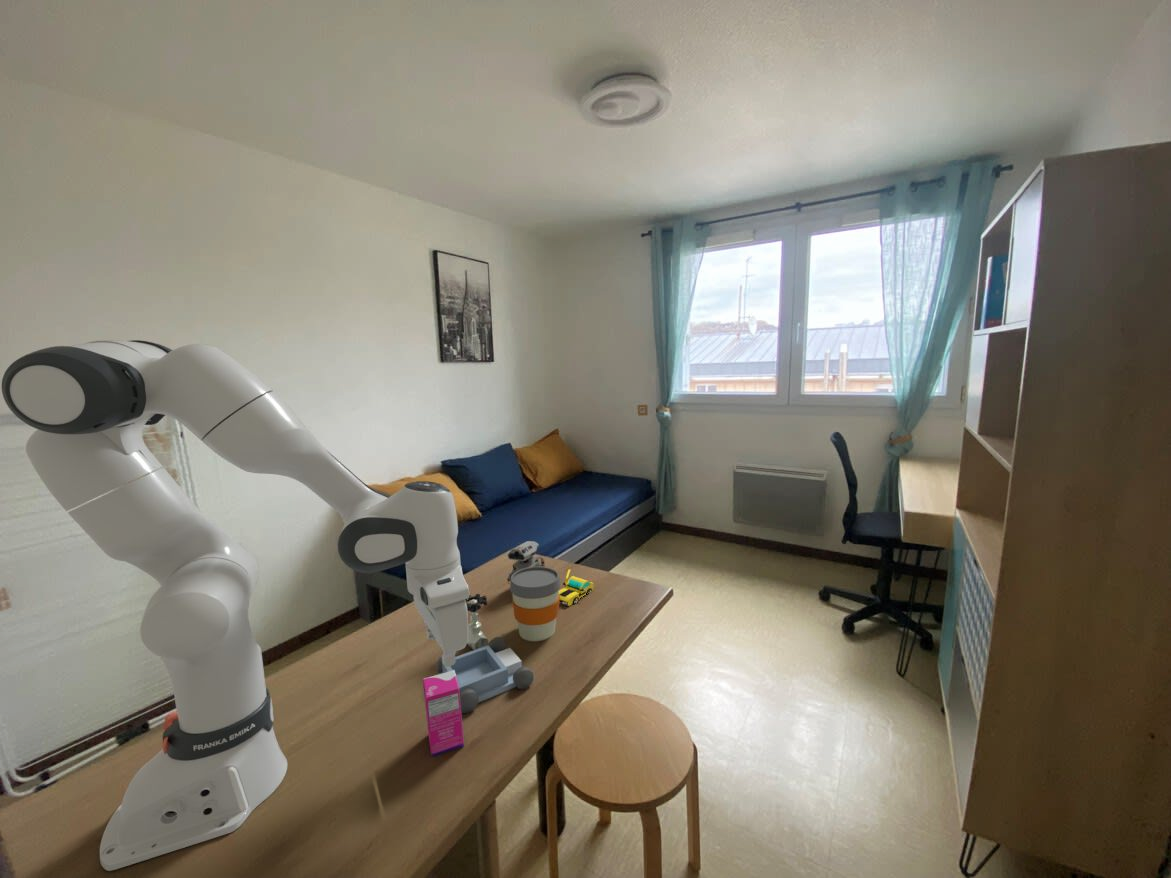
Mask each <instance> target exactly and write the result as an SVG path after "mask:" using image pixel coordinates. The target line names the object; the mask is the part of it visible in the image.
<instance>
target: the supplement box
mask: <svg viewBox="0 0 1171 878" xmlns="http://www.w3.org/2000/svg"><path fill="white" fill-rule="evenodd" d="M438 674H439V673H438ZM438 674H435V675H433V676H429V677H424V678H422V685H423V696H424V707H425V716H426V727H427V735H428V740H429V748H430V755H431V757H436V756H437V755H441V754H443V753H446V752H447V753H448V752H450V751H454V750H457V749H459V748H463V747H465V740H464V739H465V738H464V731H463V729H464V727H463V717H462V716H463V715H462V712H461V704H460V692H459V685H458V681H457V677H456V673H455V670H452V671H449V672H446V673H442V674H439V675H438Z"/></svg>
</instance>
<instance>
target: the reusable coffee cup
mask: <svg viewBox="0 0 1171 878" xmlns="http://www.w3.org/2000/svg"><path fill="white" fill-rule="evenodd" d="M509 586H510V587H509V590H510V593H511V596H512V597H511V603H512V604H511V606H512V609H513V610H512V611H513V615H514V619H515V620H516V623H517V627H518V629H517V630H518V633H519V636H520V638H522V639H523V640H525V641H529V642H541V641H544V640H547V639H550V638H551V637H552V636H553V635H554V634H555V631H556V625H557V624H556V623H557V617H558V615H559V609H560V603H559V601H560V595H559V590H561V586H562V585H561V578H560V574H559V572H558V571H557V570H556V569H554V568H552V567H549V566H548V567H547V566H545V567H528V568H524V569H521V570H518V571H517V572H515V573H514V574H513V575H512V576H511V581H510V582H509Z"/></svg>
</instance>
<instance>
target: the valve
mask: <svg viewBox="0 0 1171 878" xmlns="http://www.w3.org/2000/svg"><path fill="white" fill-rule="evenodd" d="M465 601H466V604H467V611H468V612H470V614H469V616H470V617H469V618H470V619H469V620H470V621H471V622H470V623H468V642H467V645H468V647H469V648H471V649H472V651H474V650H476V649H479V648H482V647H485V646H488V645H489V639H488V638H487V636H486V635H485V634H484V632H483V631H482V623H481V622H480V621H479V617H480V616H479V613H478V611H479V610H481V609H482V605H483V606H487V605H488V598H487V595H482V596H481V594H480V593H475V594H474V596H472V595H471V594H469V598H467V599H465Z"/></svg>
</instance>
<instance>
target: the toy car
mask: <svg viewBox="0 0 1171 878" xmlns="http://www.w3.org/2000/svg"><path fill="white" fill-rule="evenodd" d="M570 573H571V569H568V570H567V572H566V576H565V581H564V582H563V583H562V585H563V586H564V587H563V588H560V589H559V595H560V601H559V604H562V605H564V606H569V607H570V606H572V605H575V604H574V603H576V602H577V601H578V600H579V601H580V600H581V599H582V598H584V597H585V596H584V595H586V593H589V592H591V591H592V590H594V583H593V582H592V581H590V580H586V579H583V578H580V577H576V576H575V575H572V576H570V577H569V575H570ZM592 592H593V591H592ZM592 592H591V593H592ZM583 596H584V597H583ZM586 596H587V595H586ZM581 597H582V598H581ZM580 598H581V599H580ZM579 601H578V602H579ZM578 602H577V603H578ZM577 603H576V604H577Z"/></svg>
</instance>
